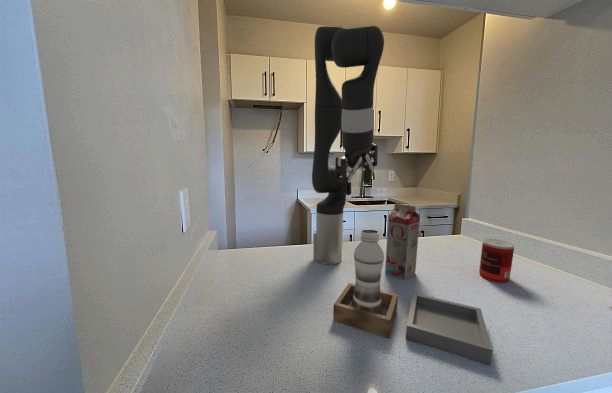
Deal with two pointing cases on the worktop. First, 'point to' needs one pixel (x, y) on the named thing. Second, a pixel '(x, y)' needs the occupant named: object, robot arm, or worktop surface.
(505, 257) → the canned food
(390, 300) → the open wooden box
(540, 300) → the worktop surface
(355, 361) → the worktop surface
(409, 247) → the juice carton
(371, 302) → the plastic bottle
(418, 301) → the tray
